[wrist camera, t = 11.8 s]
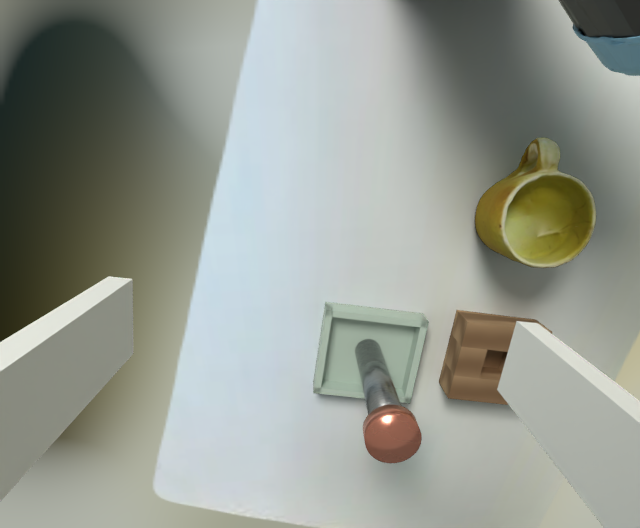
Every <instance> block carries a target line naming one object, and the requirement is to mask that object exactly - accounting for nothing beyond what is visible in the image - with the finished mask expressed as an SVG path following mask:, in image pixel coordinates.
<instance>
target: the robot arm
mask: <svg viewBox="0 0 640 528" xmlns="http://www.w3.org/2000/svg"><path fill="white" fill-rule="evenodd" d="M559 2H560V3H561V5H562V7H563V8H564V10H565V11H566V13H567V14H568V16H569V18H570V19H571V21H572V22H573V30H574V31H575V33H576V35H577V36H578V37H579V38H581V39H582V40H584V41H586V42H587V43H588V45H589V46H590V47H591V49H592V50H593V52H594V53H595V54H596V56H597V57H598V58H599V60H600V61H601V63H602V64H603V65H604V66H605V67H607V68H608V69H610V70H611V71H614V72H619V73H624V74H626V75H632V76H640V0H559ZM132 354H133V280H132V279H128V278H119V277H107V278H106V279H104V280H102V281H101V282H99V283H97V284H96V285H94V286H93V287H91V288H89V289H87V290H86V291H84V292H83V293H81V294H79V295H78V296H76V297H74V298H73V299H71V300H69V301H68V302H66V303H64V304H63V305H61V306H59V307H58V308H56V309H54V310H53V311H51V312H50V313H48V314H46V315H45V316H43V317H41V318H40V319H38V320H36V321H35V322H33V323H32V324H30V325H28V326H27V327H25V328H23V329H22V330H20V331H19V332H17V333H15V334H13V335H12V336H10V337H8V338H7V339H5V340H3V341H0V501H1V500H2V499H3V498H4V497H5V496H6V495H7V494H8V492H9V491H10V490H11V489H12V488H13V487H14V486H15V485H16V484H17V482H18V481H19V480H20V479H21V478H22V477H23V476H24V475H25V473H26V472H27V471H28V470H29V469H30V468H31V467H32V466H33V465H34V463H35V462H36V461H37V460H38V459H39V458H40V457H41V456H42V455H43V453H44V452H45V451H46V450H47V449H48V448H49V447H50V446H51V445H52V443H53V442H54V441H55V440H56V439H57V438H58V437H59V436H60V434H61V433H62V432H63V431H64V430H65V429H66V428H67V427H68V426H69V424H70V423H71V422H72V421H73V420H74V419H75V418H76V417H77V415H78V414H79V413H80V412H81V411H82V410H83V409H84V408H85V407H86V406H87V404H88V403H89V402H90V401H91V400H92V399H93V398H94V397H95V396H96V394H97V393H98V392H99V391H100V390H101V389H102V388H103V387H104V386H105V384H106V383H107V382H108V381H109V380H110V379H111V378H112V376H113V375H114V374H115V373H116V372H117V371H118V370H119V369H120V367H122V365H123V364H124V363H125V362H126V361H127V360H128V359H129V358H130V356H131V355H132ZM497 390H498V392H499V393H500V394H501V395H502V397H503V398H504V399H505V401H506V402H507V403H508V404H509V406H510V407H511V408H512V410H513V411H514V412H515V414H516V415H517V416H518V417H519V419H520V420H521V421H522V423H523V424H524V425H525V426H526V428H527V429H528V430H529V432H530V433H531V434H532V435H533V437H534V438H535V439H536V441H537V442H538V443H539V445H540V446H541V447H542V448H543V450H544V451H545V452H546V454H547V455H548V456H549V457H550V459H551V460H552V461H553V463H554V464H555V465H556V467H557V468H558V469H559V470H560V472H561V473H562V474H563V476H564V477H565V478H566V479H567V481H568V482H569V483H570V485H571V486H572V487H573V489H574V490H575V491H576V492H577V494H578V495H579V496H580V498H581V499H582V500H583V501H584V503H585V504H586V505H587V507H588V508H589V509H590V510H591V512H592V513H593V514H594V516H595V517H596V518H597V520H598V521H599V522H600V523H601V525H602V526H603V527H604V528H640V401H639V400H638V399H637V398H635V397H634V396H633V395H631V394H630V393H629V392H628V391H626V390H625V389H624V388H622V387H621V386H620V385H618V384H617V383H616V382H614V381H613V380H612V379H610V378H609V377H608V376H607V375H605V374H604V373H603V372H601V371H600V370H599V369H597V368H596V367H595V366H593V365H592V364H591V363H589V362H588V361H587V360H586V359H584V358H583V357H582V356H580V355H579V354H578V353H576V352H575V351H574V350H572V349H571V348H570V347H568V346H567V345H566V344H565V343H563V342H562V341H561V340H559V339H558V338H557V337H555V336H554V335H553V334H551V333H550V332H549V331H547V330H546V329H545V328H544V327H542V326H541V325H540V324H538V323H531V322H522V321H516V325H515V329H514V332H513V336H512V339H511V343H510V346H509V350H508V353H507V357H506V360H505V364H504V367H503V371H502V374H501V378H500V381H499V385H498V388H497Z"/></svg>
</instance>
